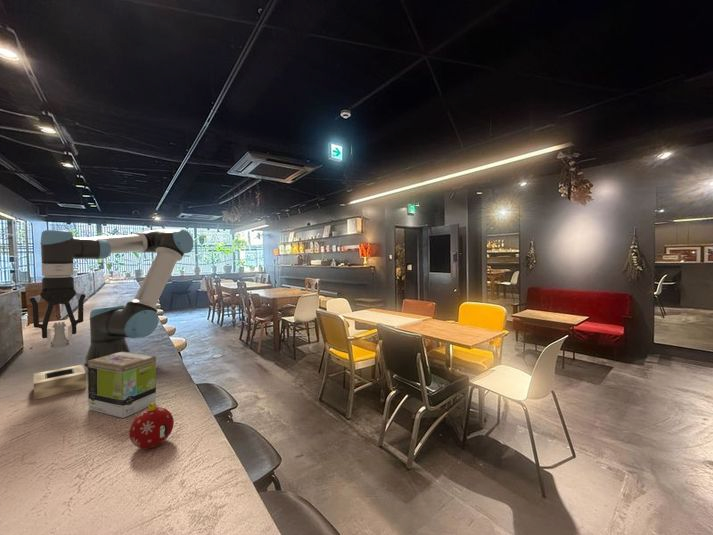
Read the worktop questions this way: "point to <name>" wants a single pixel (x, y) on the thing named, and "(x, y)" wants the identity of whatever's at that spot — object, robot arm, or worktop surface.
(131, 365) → the tea box
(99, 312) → the robot arm
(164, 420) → the christmas ornament
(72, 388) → the socket block
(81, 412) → the worktop surface
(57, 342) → the rook chess piece
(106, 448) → the worktop surface
